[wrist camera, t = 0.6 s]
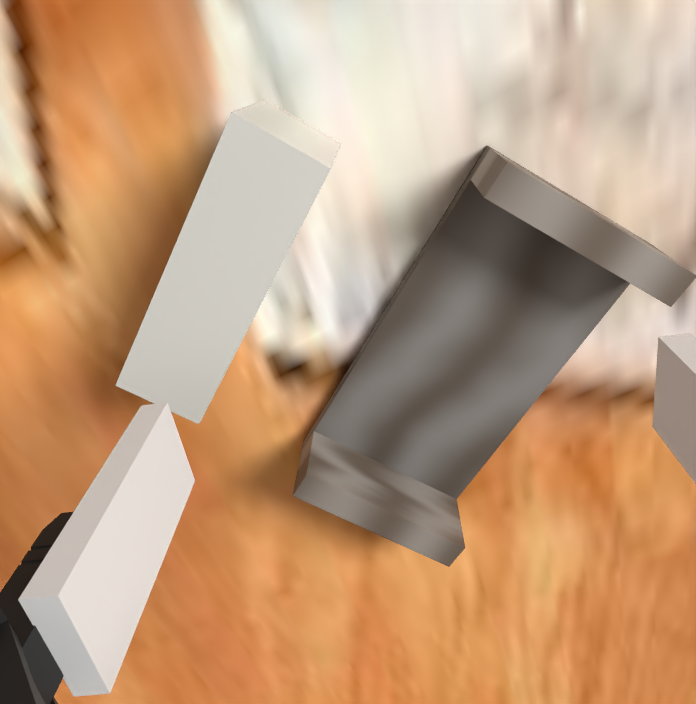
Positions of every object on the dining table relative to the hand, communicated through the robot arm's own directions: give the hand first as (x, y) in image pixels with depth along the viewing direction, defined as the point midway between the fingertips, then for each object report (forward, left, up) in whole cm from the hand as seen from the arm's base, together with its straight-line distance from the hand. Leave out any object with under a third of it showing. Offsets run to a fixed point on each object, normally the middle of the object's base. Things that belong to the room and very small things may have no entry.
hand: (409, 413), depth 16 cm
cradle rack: (+9, -6, -23) cm, 26 cm away
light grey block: (-7, -6, -23) cm, 25 cm away
